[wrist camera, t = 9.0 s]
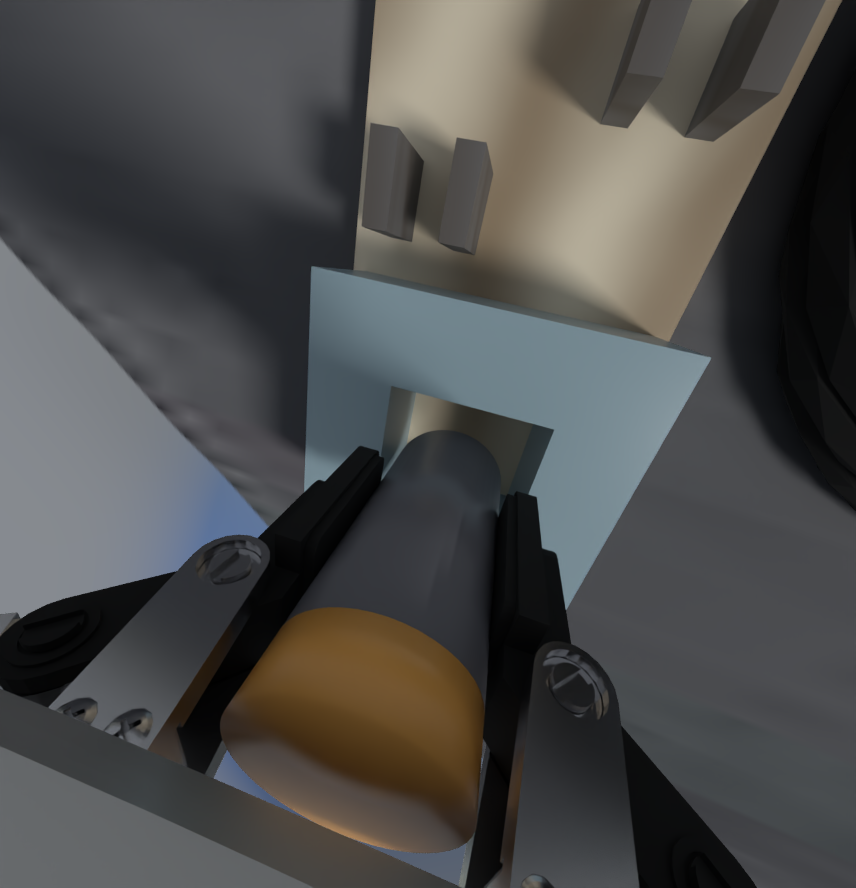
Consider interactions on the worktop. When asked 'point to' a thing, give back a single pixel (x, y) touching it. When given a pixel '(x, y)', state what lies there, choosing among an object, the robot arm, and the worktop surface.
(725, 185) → the board
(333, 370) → the end holder
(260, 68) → the worktop surface
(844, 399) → the cable lock
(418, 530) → the connector plug
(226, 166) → the worktop surface
